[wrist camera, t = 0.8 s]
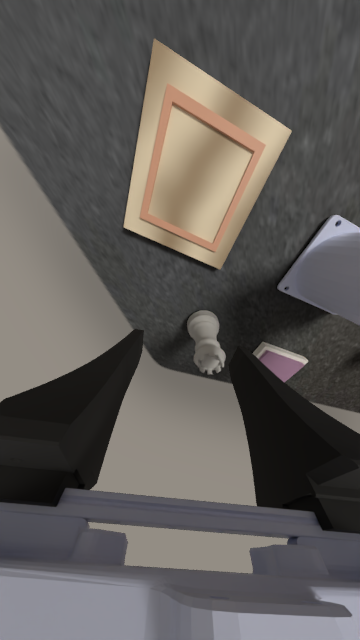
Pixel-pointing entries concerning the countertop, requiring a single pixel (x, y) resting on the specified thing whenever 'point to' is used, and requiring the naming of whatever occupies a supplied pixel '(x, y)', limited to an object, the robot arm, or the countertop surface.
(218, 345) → the rook chess piece
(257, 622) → the robot arm
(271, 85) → the countertop surface
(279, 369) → the ink pad
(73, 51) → the countertop surface
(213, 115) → the marked board
